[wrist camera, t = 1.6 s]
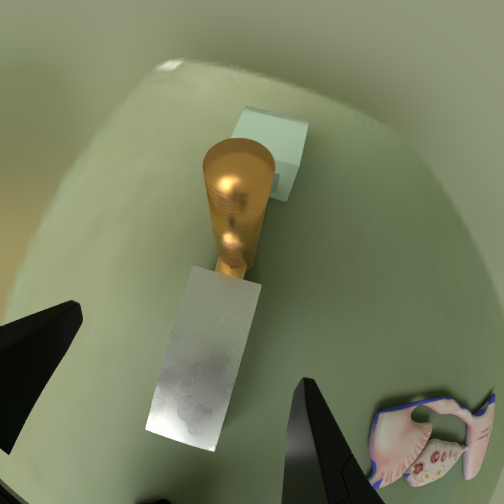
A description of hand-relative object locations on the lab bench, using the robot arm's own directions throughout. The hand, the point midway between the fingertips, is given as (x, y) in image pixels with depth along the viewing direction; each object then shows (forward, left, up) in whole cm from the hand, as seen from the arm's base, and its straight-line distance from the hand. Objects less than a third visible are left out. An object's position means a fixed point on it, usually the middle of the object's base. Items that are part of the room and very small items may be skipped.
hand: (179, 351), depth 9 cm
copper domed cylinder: (+3, -3, -12) cm, 13 cm away
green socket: (+11, -14, -13) cm, 22 cm away
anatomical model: (-26, -11, -14) cm, 31 cm away
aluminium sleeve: (-1, +1, -13) cm, 13 cm away
